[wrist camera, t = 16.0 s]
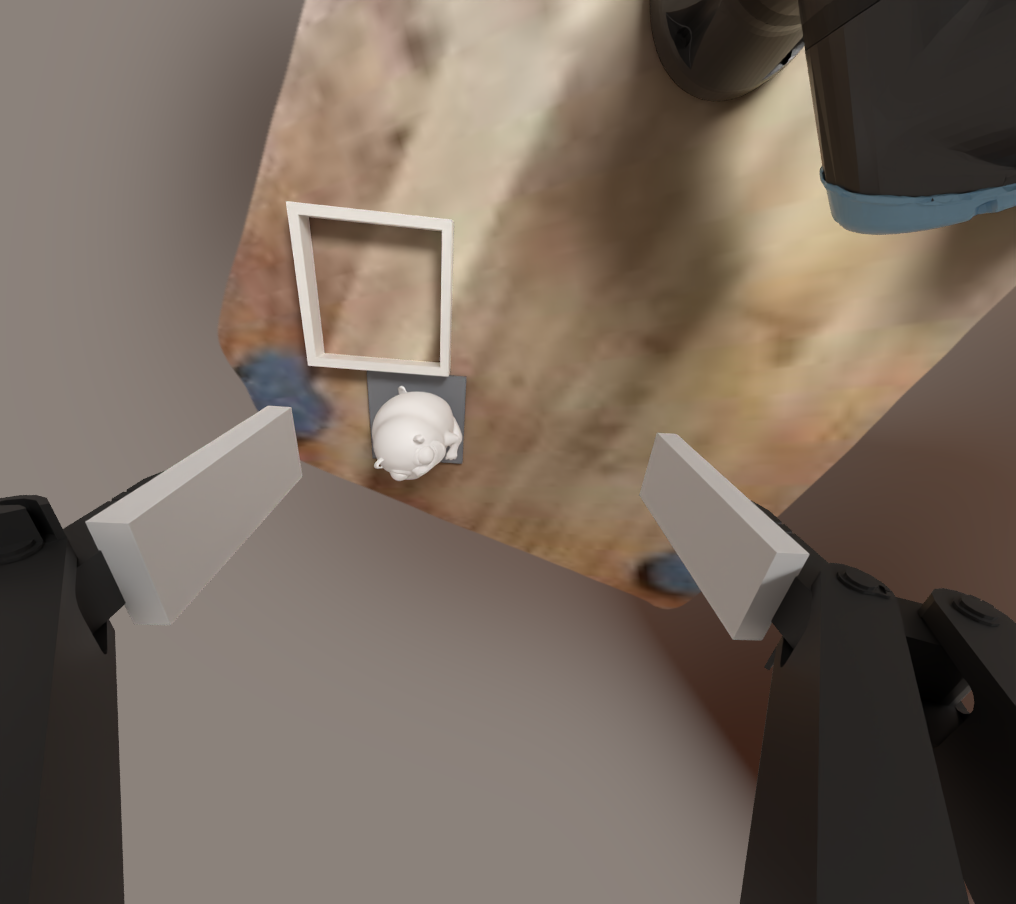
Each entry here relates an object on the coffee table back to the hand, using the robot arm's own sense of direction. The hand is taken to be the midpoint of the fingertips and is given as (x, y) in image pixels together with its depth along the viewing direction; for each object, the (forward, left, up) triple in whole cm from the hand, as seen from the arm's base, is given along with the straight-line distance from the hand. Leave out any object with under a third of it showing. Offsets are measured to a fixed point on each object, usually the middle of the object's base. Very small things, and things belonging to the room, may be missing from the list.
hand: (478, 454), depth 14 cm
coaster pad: (+12, -8, -35) cm, 38 cm away
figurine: (+12, -8, -34) cm, 37 cm away
